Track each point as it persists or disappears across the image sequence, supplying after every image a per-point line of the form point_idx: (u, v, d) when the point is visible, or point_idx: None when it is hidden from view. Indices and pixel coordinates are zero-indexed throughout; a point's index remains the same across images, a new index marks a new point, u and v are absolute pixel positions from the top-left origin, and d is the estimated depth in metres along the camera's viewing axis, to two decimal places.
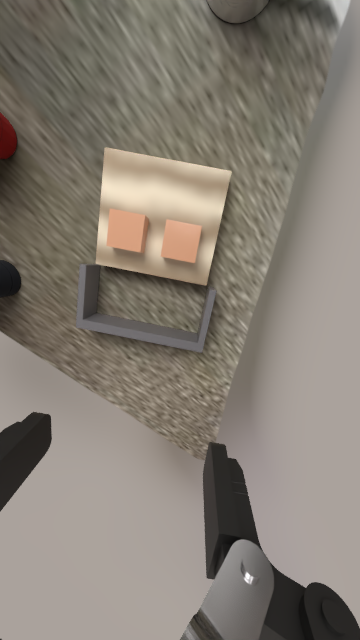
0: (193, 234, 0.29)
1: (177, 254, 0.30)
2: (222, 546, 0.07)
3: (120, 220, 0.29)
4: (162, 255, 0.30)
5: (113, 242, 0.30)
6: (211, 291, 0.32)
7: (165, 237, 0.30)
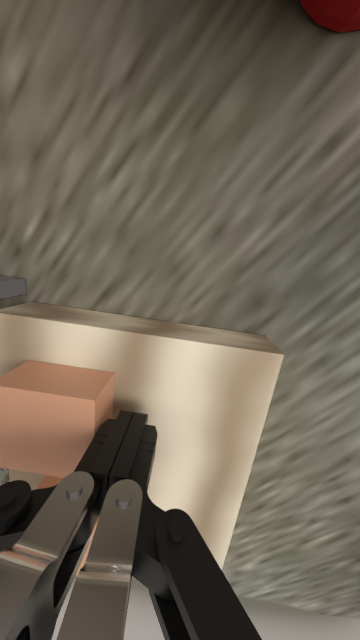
0: None
1: None
2: None
3: (67, 427, 0.10)
4: None
5: (4, 404, 0.10)
6: None
7: None
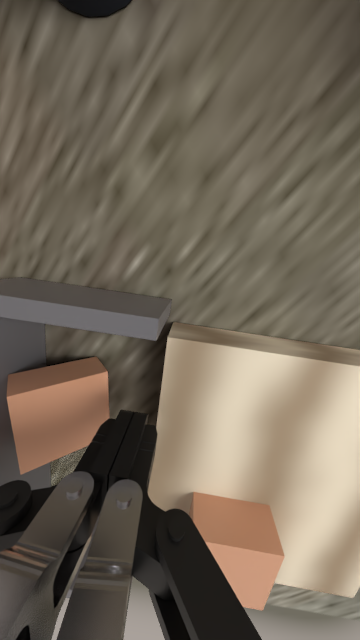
0: (244, 597, 0.13)
1: None
2: None
3: None
4: None
5: None
6: None
7: (240, 551, 0.12)
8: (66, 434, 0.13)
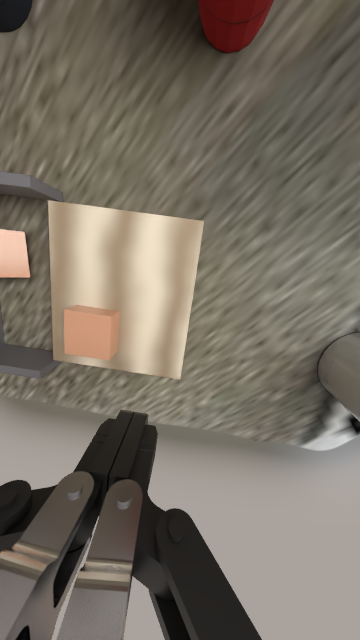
0: (98, 351, 0.23)
1: (71, 331, 0.22)
2: None
3: None
4: (65, 312, 0.22)
5: None
6: (38, 373, 0.25)
7: (89, 315, 0.22)
8: None
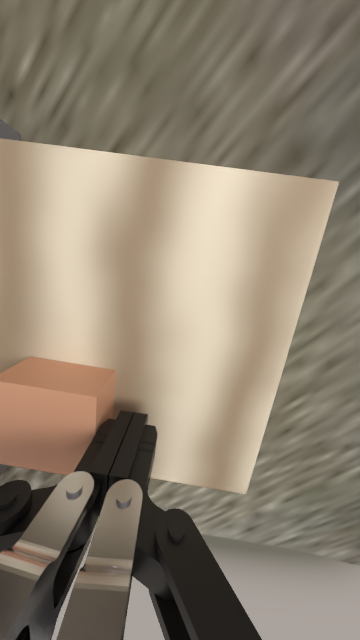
0: (68, 462, 0.11)
1: (9, 424, 0.10)
2: None
3: None
4: None
5: None
6: None
7: (46, 394, 0.10)
8: None
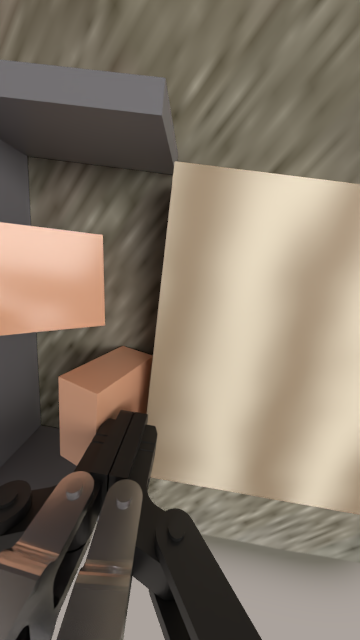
0: None
1: None
2: None
3: None
4: None
5: None
6: None
7: None
8: (51, 302, 0.11)
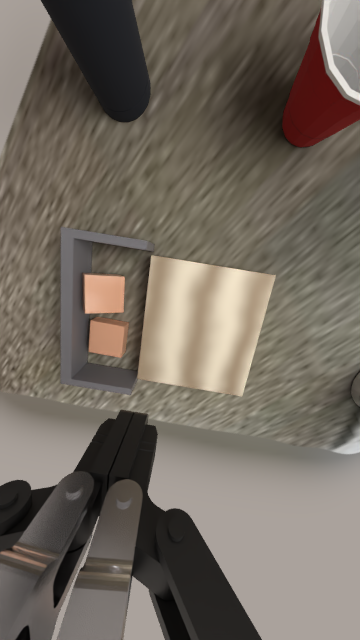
0: None
1: None
2: None
3: None
4: None
5: None
6: (129, 390, 0.30)
7: (112, 320, 0.33)
8: (104, 302, 0.28)
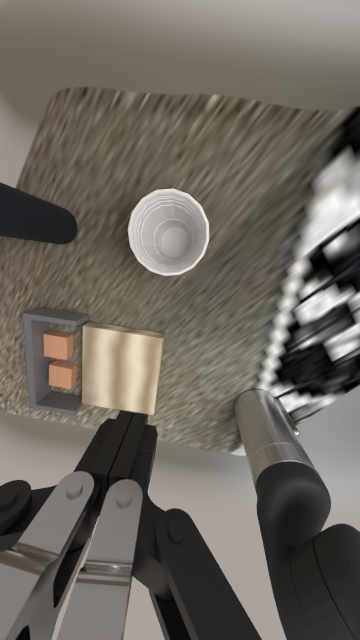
0: None
1: None
2: None
3: None
4: None
5: None
6: (74, 412, 0.45)
7: None
8: (54, 351, 0.44)
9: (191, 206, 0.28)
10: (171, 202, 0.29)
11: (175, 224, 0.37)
